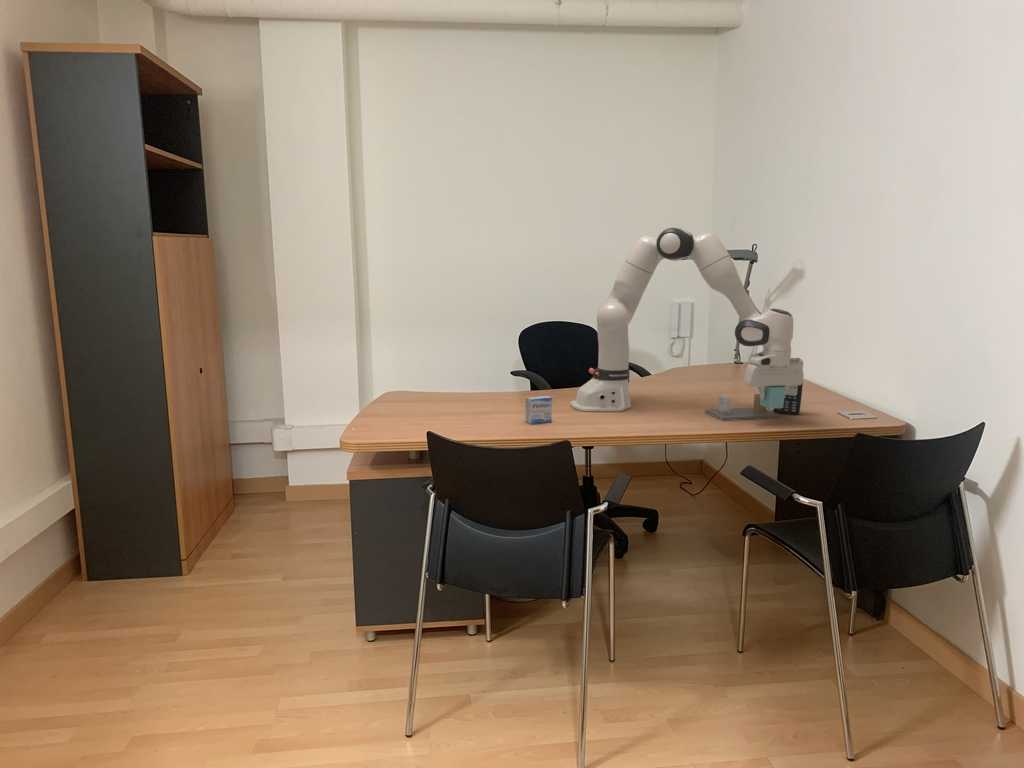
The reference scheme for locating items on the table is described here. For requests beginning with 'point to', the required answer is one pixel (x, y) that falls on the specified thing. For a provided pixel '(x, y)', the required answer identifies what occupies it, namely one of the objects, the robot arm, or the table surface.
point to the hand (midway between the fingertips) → (772, 398)
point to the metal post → (724, 405)
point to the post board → (746, 412)
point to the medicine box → (538, 409)
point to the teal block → (773, 397)
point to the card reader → (791, 401)
